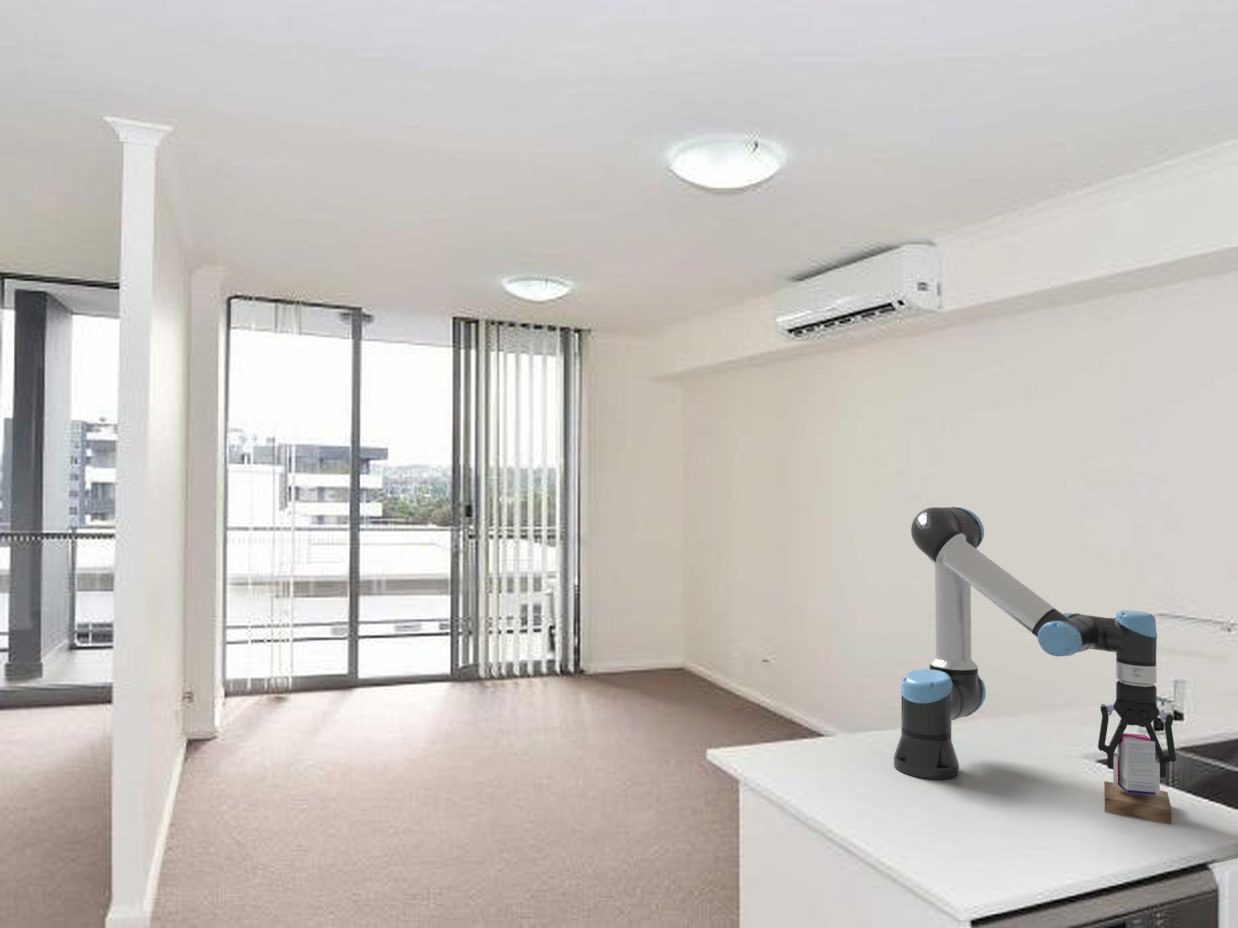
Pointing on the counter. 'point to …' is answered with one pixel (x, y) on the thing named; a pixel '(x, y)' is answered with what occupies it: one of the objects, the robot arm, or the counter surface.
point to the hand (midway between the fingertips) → (1136, 787)
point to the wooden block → (1137, 804)
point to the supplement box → (1136, 764)
